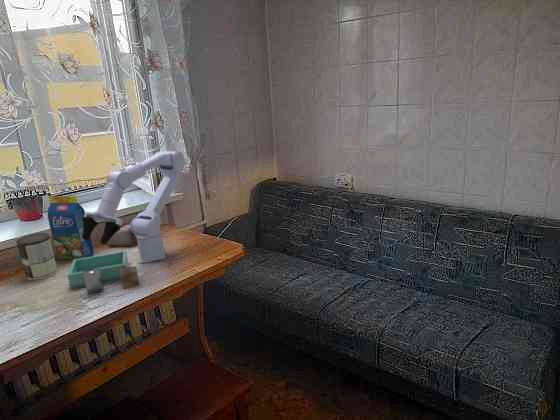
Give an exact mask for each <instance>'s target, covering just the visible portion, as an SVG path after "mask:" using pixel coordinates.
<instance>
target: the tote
mask: <svg viewBox="0 0 560 420" xmlns="http://www.w3.org/2000/svg"><path fill="white" fill-rule="evenodd" d="M128 267H129V259H128V253H127V250H122V251H117V252H111V253H106V254H105V253H104V254H100V255H98V254H97V255H92V256H90V257H87V258H81V259H75V260H72V262H71V265H70V268H69V270H68V274H67V278H68V282H69V288H70V289H71V290H73V289H79V288H83V287H86V285H85V280H84V276H83V272H84V271H85V270H87V269H90V268H99V269H100V273H101V278H102V283H103V284H104V283H109V282H110V283H111V282H115V281H121V276H120V270H121V269H122V268H128Z"/></svg>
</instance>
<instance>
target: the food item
mask: <svg viewBox="0 0 560 420" xmlns="http://www.w3.org/2000/svg"><path fill="white" fill-rule="evenodd" d="M122 220H123V219H122ZM130 225H131V224H127V223H126V222H125V221H124V220H123V224H122V226H119V227H120V230H119V231H117V232H116V233H115V234H114V235H113V236H112V237H111V238H110V240H109V241H108V242H107V246H108V247H119V246H120V247H135V246H138V243H137V237H135V234H134V233H132V231H131V229H130ZM104 229H105V227H104V228H103V230H104Z"/></svg>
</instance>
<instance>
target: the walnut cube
mask: <svg viewBox="0 0 560 420" xmlns="http://www.w3.org/2000/svg"><path fill="white" fill-rule="evenodd" d="M120 276H121V280H120V282H121V286H122V289H126V288H127V289H128V288H133V287H137V286H139V285H140V282H139V281H140V280H139V274H138V268H137V265H134V266H128V268H122V269H121V270H120Z"/></svg>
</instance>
